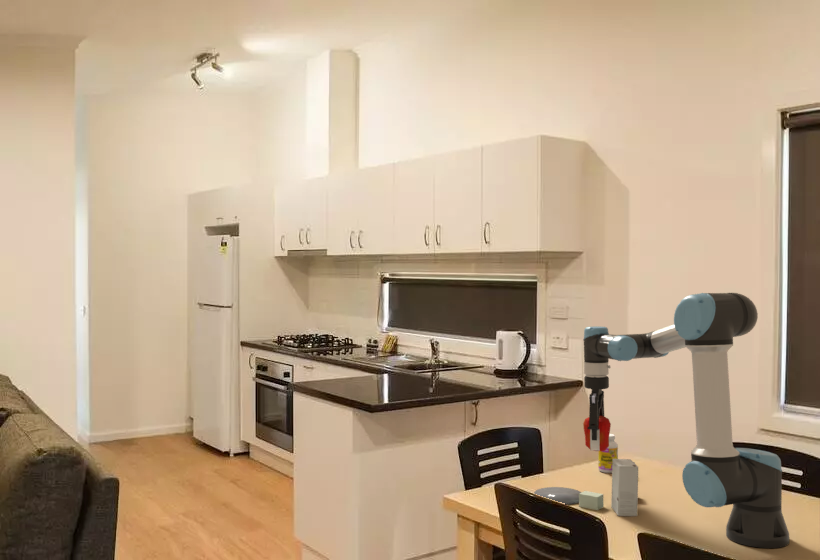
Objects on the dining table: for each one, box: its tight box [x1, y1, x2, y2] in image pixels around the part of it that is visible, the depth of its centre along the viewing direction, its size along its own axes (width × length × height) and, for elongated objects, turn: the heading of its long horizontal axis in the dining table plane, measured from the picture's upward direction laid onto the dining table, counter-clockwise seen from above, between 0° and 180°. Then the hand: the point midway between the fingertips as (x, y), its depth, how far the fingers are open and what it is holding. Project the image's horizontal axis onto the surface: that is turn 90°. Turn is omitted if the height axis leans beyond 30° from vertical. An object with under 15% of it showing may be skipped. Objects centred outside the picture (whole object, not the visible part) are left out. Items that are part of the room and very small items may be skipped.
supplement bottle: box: [597, 433, 619, 474], centre depth 273 cm, size 7×7×13 cm
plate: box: [534, 486, 583, 505], centre depth 241 cm, size 15×15×1 cm
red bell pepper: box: [582, 415, 612, 451], centre depth 243 cm, size 9×8×12 cm
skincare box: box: [610, 458, 639, 517], centre depth 226 cm, size 8×6×15 cm
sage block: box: [578, 490, 604, 511], centre depth 232 cm, size 4×6×4 cm, turn 51°
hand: (597, 447), depth 243 cm, fingers closed on red bell pepper, 9 cm apart
